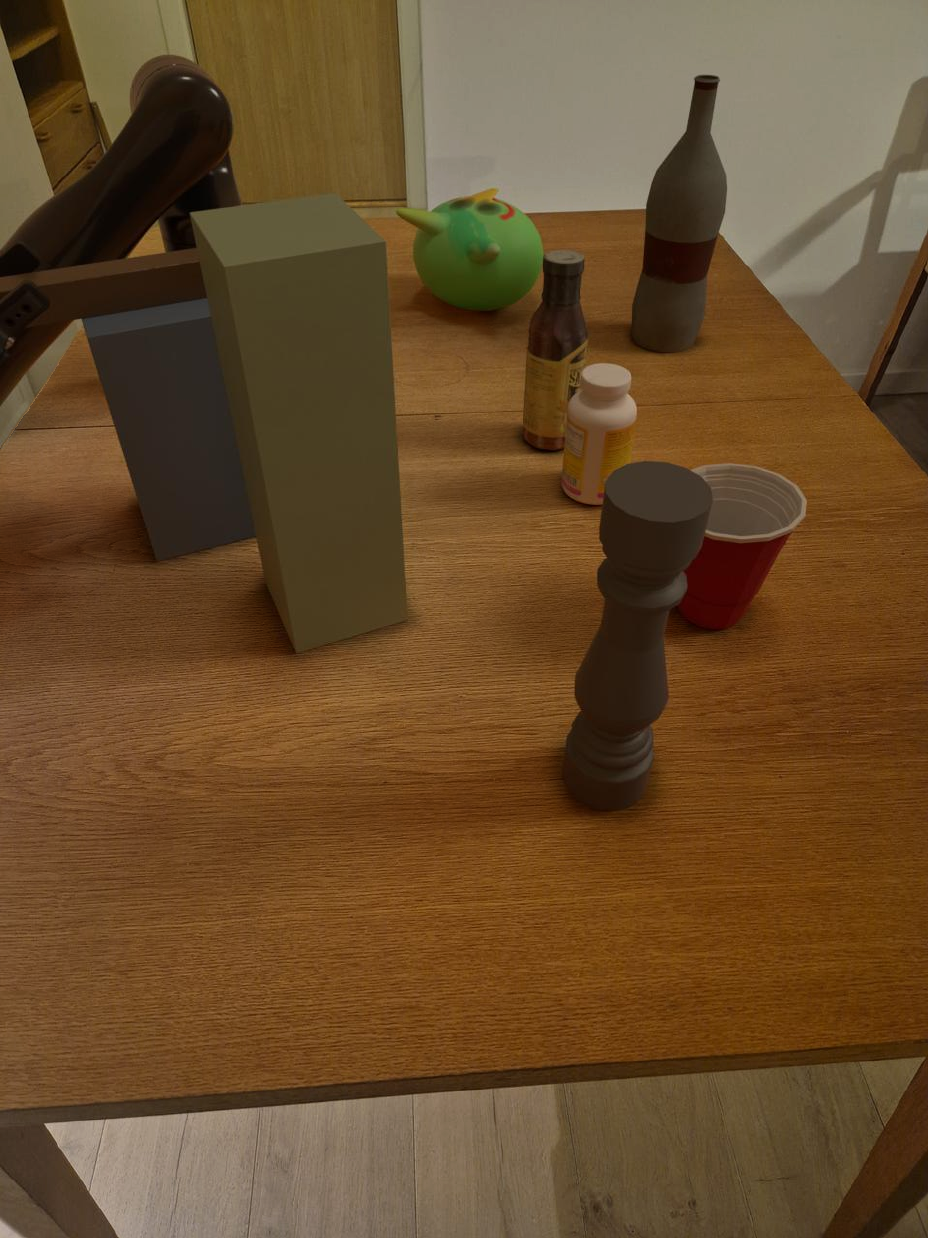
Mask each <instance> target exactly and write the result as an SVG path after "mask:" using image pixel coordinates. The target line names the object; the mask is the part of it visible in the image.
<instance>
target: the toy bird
mask: <svg viewBox="0 0 928 1238" xmlns="http://www.w3.org/2000/svg"><path fill="white" fill-rule="evenodd" d="M498 192H499V188H497V187H495V188H494V187H493V188H489V189H488V188H487V189H485V190H483V191H480V192H477V193H475V194H472V195H468V196H467V195H466V196H459V197H456V198H452V199H449V200H447V201H445V202H442V203H440V204H438V205H437V206H435V207H434V208H433V209H431V210H430V211H429V210H423V209H416V208H408V207H407V208H406V207H401V208H398V209H396V210H395V214H396V215H397V216H398V217H399V218H400V219H402V220H404V221H405V222H407V223H409V224H410V225H412V226H414V227H416V228H417V230H416V232H415V236H414V239H413V246H412V256H413V263H414V267H415V270H416V272H417V274H418V276H419V278H420V280H421V281H422V283H423V284H424V286H425V287H426V288H427V289H428V290H429V291H430V292H431V293H432V294H433V295H434V296H436V297H437V298H438V299H440V300H442V301H443V302H445V303H447V304H449V305H451V306H454V307H456V308H459V309H462V310H467V311H475V312H486V311H495V310H501V309H504V308H506V307H509V306H511V305H513V304H515V303H517V302H518V301H520V300H522V299H523V298H524V297H525V296H526V295H527V294H528V293H529V292H530V291H531V290H532V289H533V287H534V286H535V284H536V283H537V280H538V278H539V276H540V274H541V271H542V269H543V267H542V266H543V256H544V247H543V246H544V245H543V242H542V238H541V235H540V233H539V231H538V229H537V227H536V226H535V224H534V222H533V221H532V220H531V219H530V218H529V217H528V215H527V214H526V213H524V212H523V211H522V210H520V209H519V208H518V207H517V206H515V205H513V204H511V203H510V202H507V201H505V200H502V199H499V198H496V197H495V196H496V195H497V194H498Z"/></svg>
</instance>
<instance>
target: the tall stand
mask: <svg viewBox="0 0 928 1238" xmlns="http://www.w3.org/2000/svg"><path fill="white" fill-rule="evenodd" d="M190 217H191V222H192V227H193V232H194V237H195V242H196V247H197V251H198V256H199V261H200V266H201V271H202V276H203V281H204V285H205V290H206V295H207V300H208V305H209V310H210V315H211V320H212V324H213V329H214V334H215V339H216V344H217V349H218V354H219V358H220V363H221V368H222V373H223V378H224V383H225V388H226V393H227V397H228V402H229V407H230V412H231V417H232V422H233V427H234V431H235V436H236V441H237V446H238V451H239V456H240V461H241V466H242V470H243V475H244V480H245V485H246V490H247V495H248V500H249V504H250V509H251V514H252V519H253V524H254V529H255V534H256V536H255V539H256V543H257V548H258V554H259V558H260V562H261V566H262V567H261V568H262V572H263V577H264V581H265V585H266V587H267V589H268V591H269V594H270V597H271V599H272V601H273V603H274V605H275V607H276V610H277V612H278V615H279V617H280V619H281V622H282V624H283V627H284V629H285V632H286V634H287V635H288V638H289V640H290V643H291V646H292V647H293V650H294V652H295V654H300V653H303V652H306V651H307V652H308V651H310V650H313V649H317V648H320V647H323V646H327V645H329V644H333V643H337V642H339V641H344V640H347V639H350V638H353V637H356V636H360V635H363V634H367V633H370V632H373V631H377V630H380V629H383V628H386V627H389V626H393V625H396V624H399V623H403V622H407V621H408V620H409V613H408V599H407V583H406V581H407V580H406V563H405V562H406V561H405V547H404V545H405V544H404V531H403V530H404V529H403V513H402V495H401V494H402V493H401V479H400V462H399V461H400V459H399V444H398V426H397V409H396V408H397V407H396V392H395V374H394V358H393V357H394V355H393V341H392V340H393V338H392V325H391V307H390V306H391V305H390V304H391V303H390V289H389V288H390V287H389V272H388V255H387V253H388V252H387V241H386V239H384V238H383V237H382V236H381V235H380V234H379V232H377V231H376V230H375V229H374V227H372V226H371V225H370V224H369V223H368V222H367V221H365V220H364V218H363V217H361V216H360V215H359V214H358V213H357V212H356V211H355V210H354V209H353V208H352V207H351V206H350V205H349V204H348V203H347V202H346V201H344V199H342V198H341V196H339V194H338V193H336V192H328V193H321V194H315V195H314V194H313V195H307V196H301V197H292V198H286V199H279V200H272V201H271V200H270V201H264V202H263V201H262V202H257V203H250V204H243V205H241V206H234V207H227V208H219V209H212V210H205V211H197V212H190Z"/></svg>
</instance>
